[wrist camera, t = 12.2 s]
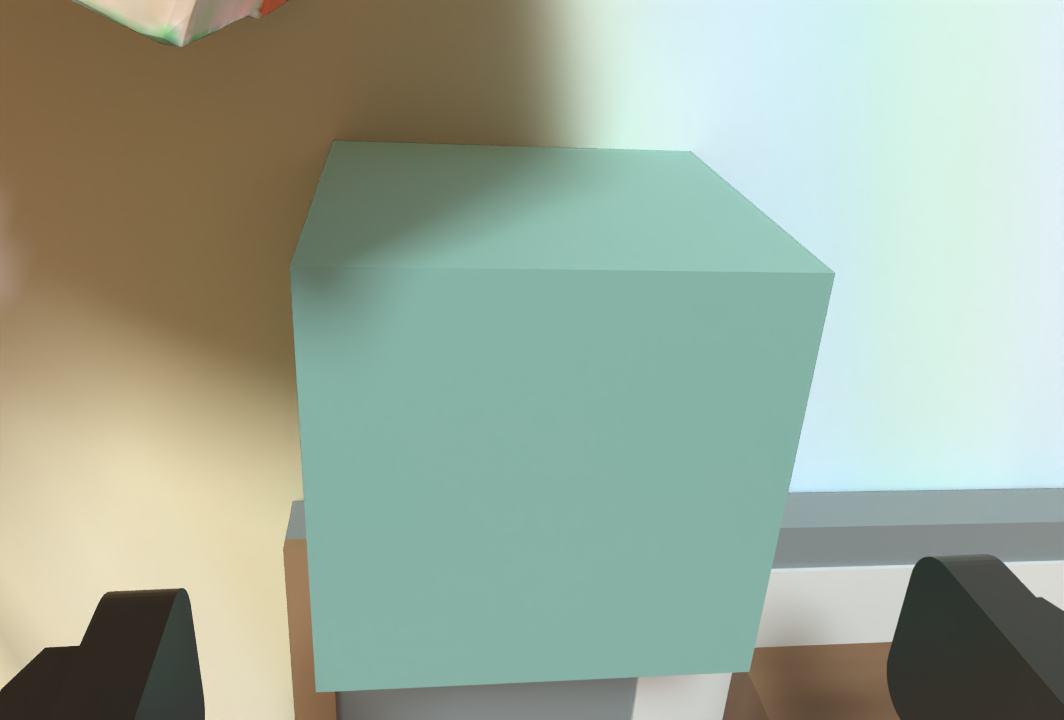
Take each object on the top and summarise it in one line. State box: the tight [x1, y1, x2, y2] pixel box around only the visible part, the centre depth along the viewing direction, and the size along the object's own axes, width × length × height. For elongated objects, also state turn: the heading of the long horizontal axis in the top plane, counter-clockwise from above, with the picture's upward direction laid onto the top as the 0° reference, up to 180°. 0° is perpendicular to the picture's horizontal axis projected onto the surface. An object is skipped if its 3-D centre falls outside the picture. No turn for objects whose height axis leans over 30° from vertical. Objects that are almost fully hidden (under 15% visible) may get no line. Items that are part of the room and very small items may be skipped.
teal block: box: [290, 140, 835, 692], centre depth 14 cm, size 6×6×6 cm
